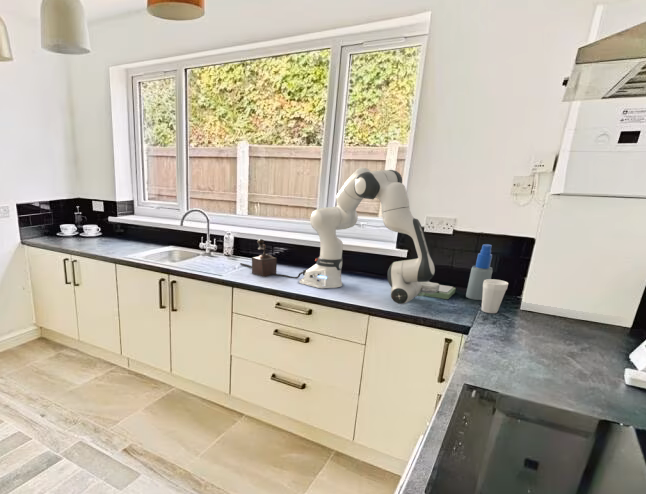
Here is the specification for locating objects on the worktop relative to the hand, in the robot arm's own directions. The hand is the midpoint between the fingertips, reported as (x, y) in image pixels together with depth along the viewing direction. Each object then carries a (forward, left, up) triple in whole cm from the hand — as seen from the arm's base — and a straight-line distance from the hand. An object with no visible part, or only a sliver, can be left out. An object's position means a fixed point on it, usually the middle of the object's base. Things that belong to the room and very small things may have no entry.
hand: (419, 281), depth 214 cm
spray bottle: (+22, +19, -8) cm, 30 cm away
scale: (+5, +14, -8) cm, 17 cm away
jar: (0, -1, -6) cm, 6 cm away
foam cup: (+31, 0, -8) cm, 32 cm away
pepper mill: (-87, -3, -8) cm, 87 cm away
